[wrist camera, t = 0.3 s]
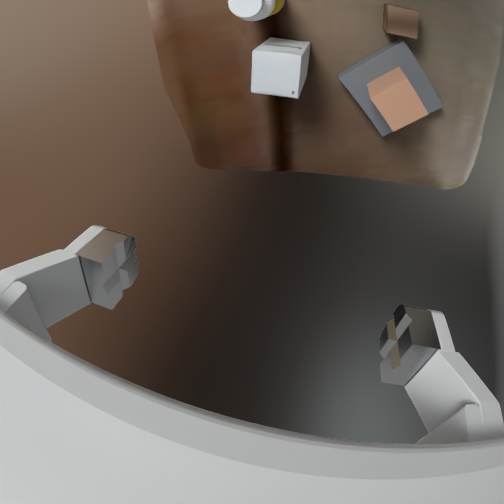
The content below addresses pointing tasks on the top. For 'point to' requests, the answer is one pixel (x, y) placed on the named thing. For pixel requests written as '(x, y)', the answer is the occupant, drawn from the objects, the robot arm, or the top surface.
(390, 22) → the walnut block
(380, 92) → the terracotta block
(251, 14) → the supplement bottle
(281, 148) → the top surface
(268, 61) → the supplement box
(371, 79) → the base slab
